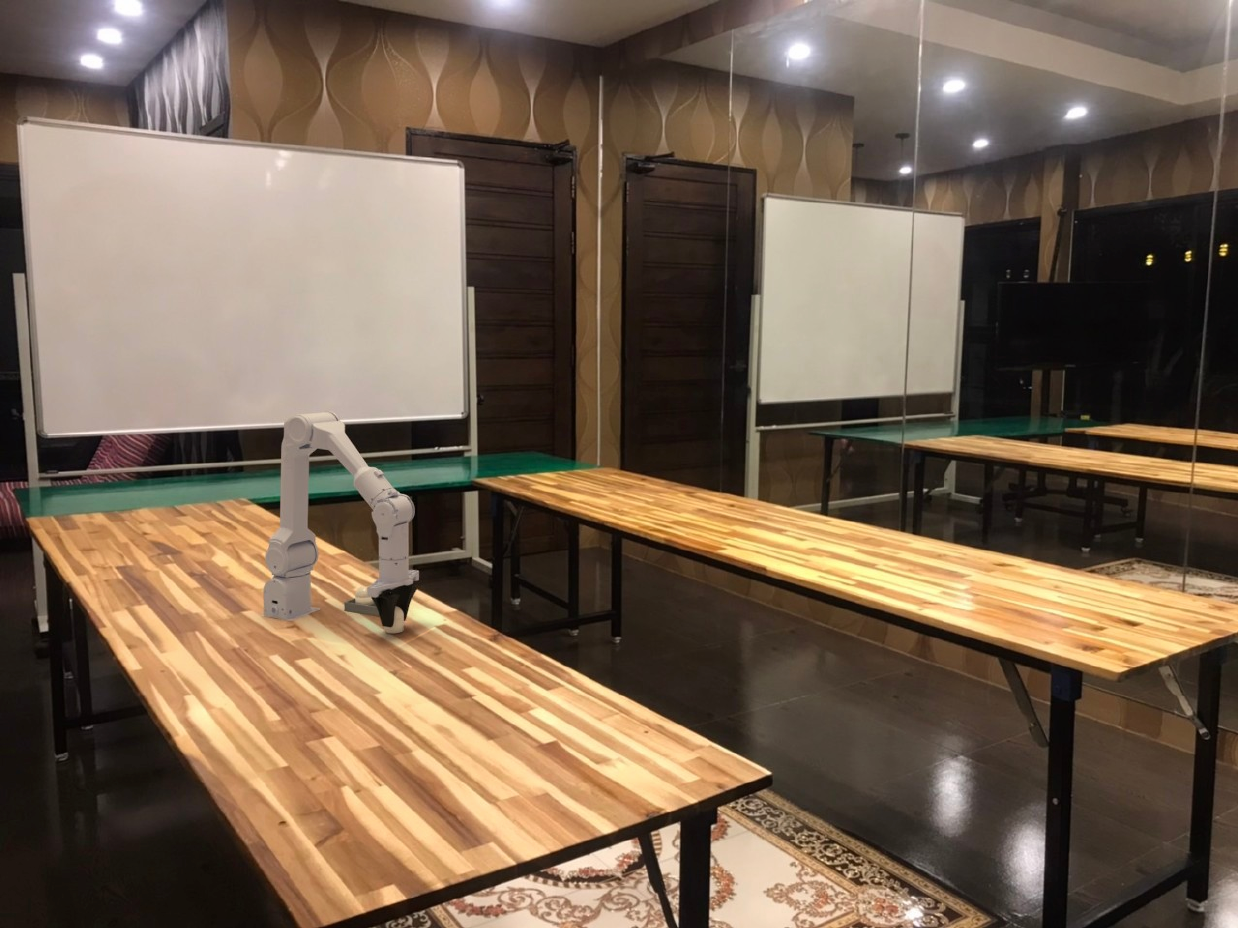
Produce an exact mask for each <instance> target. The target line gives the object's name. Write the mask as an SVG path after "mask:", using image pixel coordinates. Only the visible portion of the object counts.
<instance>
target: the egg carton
mask: <svg viewBox="0 0 1238 928" xmlns="http://www.w3.org/2000/svg"><path fill="white" fill-rule="evenodd" d="M343 604H344V605H343V606H344V612H350V613H356V614H362V615H369V616H374V617H379V618H380V615H379V612H378V609H377V607H376V605H375V603H372V604H369V605H361V604H355V597H354V598H352V599H349V600H346V601H344V603H343Z"/></svg>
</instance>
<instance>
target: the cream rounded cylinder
mask: <svg viewBox="0 0 1238 928" xmlns="http://www.w3.org/2000/svg"><path fill="white" fill-rule="evenodd" d="M383 627H384V628H383V629H384V632H385V633H387V634H399V633H402V632H404V631H405V621H404V613H403V611H402V609H401V608H399V607H397V606H396V607H395V614H394V624H393V627H385V626H383Z"/></svg>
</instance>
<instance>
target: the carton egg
mask: <svg viewBox="0 0 1238 928" xmlns="http://www.w3.org/2000/svg"><path fill="white" fill-rule="evenodd" d="M367 587H368V586H365V585H363V586H360V587H358V589H356V592H355V593H354V598H355V604H361V605H369V604H372V603H374V601H373V600H372V598H371V597H369V596H367Z"/></svg>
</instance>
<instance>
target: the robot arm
mask: <svg viewBox="0 0 1238 928" xmlns="http://www.w3.org/2000/svg"><path fill="white" fill-rule="evenodd" d="M283 425H284V426H283V439H282V442H281V446H280V447H281V449H280V451H281V454H280V455H281V456H280V457H281V458H280V460H281V461H280V462H281V463H280V500H279V501H280V505H279V506H280V507H279V508H280V512H279V528H278V529H277V530H276V531H275V532H274V534H272V535H271V536H270V538H269V539H268V548H267V550H266V553H265V559H264V561H265V564H266V567H267V568H268V570H269V572H270V573H271V576H273V577H272V578H271V579H269V580H267V581H266V582H265V584H264V586H263V589H262V590H263V591H262V592H263V614H261V615H260V616H262V617H267V618H273V619H277V620H278V619H279V620H285V621H293V620H296V619H299V618H302V617H304V616H306V615H309V614H312V613H314V612H317V611H319V610H321V608H319V607H314V606H312V589H311V588H312V585H311V584H312V581H311V576H312V575H311V571H314V566H315V565H316V563H317V562H318V559H319V549H318V545H317V541H316V534H315V533H314V532H313V531H312V530H311V529H309V527H308V526H309V525H308V519H309V518H308V517H309V483H310V481H309V477H310V476H309V475H310V455H312V454H313V452H315V451H317V449H319V450H325V451H326V450H327V451H329V452H330V453H331V454H332V455H333V456H334V457H335V458H336V459H337V460H338V461H339V463H340V464H342V466H343V467H344V468H345V469H346V470H347V471H348V472H349V473H350V474H351V475H352V477H353V487H354V488H355V489H356V490H357V492H358V493H359V494H360V496H361V497H362V498H363V499H364V501H365V502H366V503H367V504H368V505H369V507H370V508H371V509H372V511H371V518H372V520H373V523H374V524H375V527H376V533H377V536H378V578H377V579H376V580H375V581H374V582H373V583H372V584H370V585H368V586H367V596H369V597H371V598H372V600H373V601H374V603H375V605H376V607H377V609H378V612H379V615H380V617H379V618H380V622H381V625H382V627H384V626H385V627H393V624H394V614H395V607H396V606H397V607H399V608H401V609H402V611H403V613H404V622H405V621H407V617H408V613H409V609H410V605H411V602H412V599H413V598H414V595H415V593H416V592H417V590H418V585H417V584H414V582H417V581H419V580H420V579H419V578H420V571H419V570H417V569H409V566H410V565H409V550H410V549H409V540H410V539H409V538H410V537H409V535H410V534H409V531H410V530H409V527H410V526H409V525H410V524H409V523H410V522H411V521H412V520H413V519H414V516H415V509H416V508H415V505H414V502H413V501H412V499H411V497H410V496H409V495H407V494H404V493H400V491H398V490H396V489H395V488H394V487H393V486H392V485H391V483H390V482H389V481H388V480H387V478H386V477H385V476H384V474H385V473H384V472H383V471H382V470H381V469H379V468H377V467H374V466H369V465H368V463H366V461H365V460H364V458H363V457H362V455H361V453H359V451H358V450H357V448H356V446H355V445H354V444H353V442H352V441H351V439H350V438H349V436H348V435H347V434H346V424H345V423H344V422H343V421H342V420H341V419H340V418H339V416H338V414H336V413H335V412H334V411H331V410H327V411H323V412H313V413H303V414H301V413H295V414H293V415H291V416H290V417H289V418H288V419H287V420H285V421H284V424H283Z"/></svg>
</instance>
